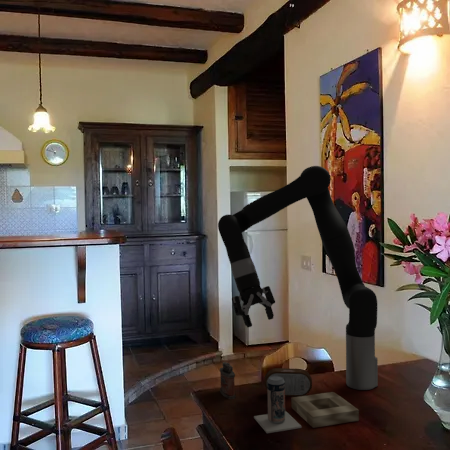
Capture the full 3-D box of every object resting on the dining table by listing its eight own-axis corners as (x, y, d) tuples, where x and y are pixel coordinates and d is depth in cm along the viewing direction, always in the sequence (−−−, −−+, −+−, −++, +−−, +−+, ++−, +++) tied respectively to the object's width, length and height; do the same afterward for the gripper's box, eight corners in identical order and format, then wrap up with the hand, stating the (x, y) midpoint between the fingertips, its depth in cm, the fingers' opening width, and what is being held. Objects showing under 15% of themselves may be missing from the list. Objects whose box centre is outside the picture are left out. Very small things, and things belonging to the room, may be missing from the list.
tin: (312, 394, 156) (311, 368, 155) (312, 398, 152) (312, 371, 152) (264, 393, 157) (264, 367, 157) (264, 396, 154) (264, 370, 154)
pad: (286, 413, 142) (286, 411, 142) (301, 427, 132) (301, 426, 132) (253, 417, 139) (253, 416, 139) (266, 433, 129) (266, 431, 129)
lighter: (217, 390, 159) (217, 360, 159) (227, 389, 161) (226, 359, 160) (227, 399, 152) (227, 368, 152) (237, 397, 153) (237, 366, 153)
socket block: (333, 401, 149) (333, 391, 149) (358, 420, 136) (358, 409, 136) (291, 407, 145) (291, 397, 145) (313, 427, 132) (313, 416, 132)
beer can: (273, 426, 132) (273, 382, 132) (264, 419, 137) (264, 376, 136) (288, 422, 135) (288, 379, 134) (278, 415, 139) (278, 373, 138)
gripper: (232, 277, 151) (248, 328, 149) (268, 266, 159) (284, 315, 156) (221, 281, 157) (236, 330, 155) (256, 271, 165) (271, 318, 162)
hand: (260, 322), depth 156 cm, fingers open, 8 cm apart
